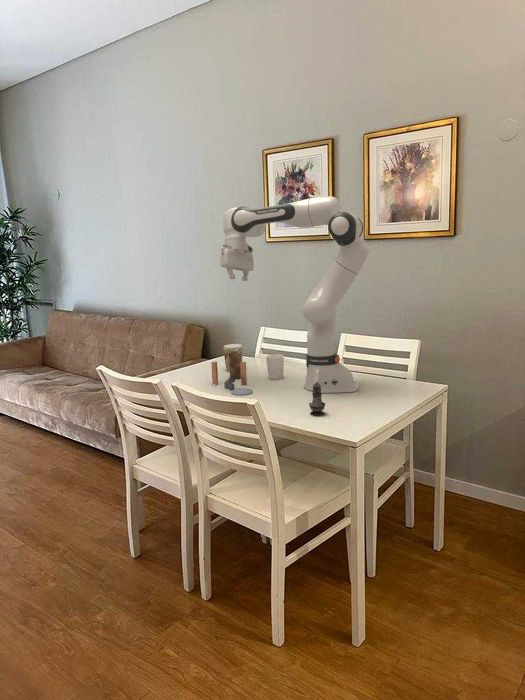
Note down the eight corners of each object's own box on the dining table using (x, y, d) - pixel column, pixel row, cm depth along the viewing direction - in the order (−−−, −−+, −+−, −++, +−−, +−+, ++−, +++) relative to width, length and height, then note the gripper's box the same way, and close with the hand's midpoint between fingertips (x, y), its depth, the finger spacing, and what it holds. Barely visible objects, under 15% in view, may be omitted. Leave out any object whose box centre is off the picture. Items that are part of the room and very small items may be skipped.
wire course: (249, 381, 232) (248, 359, 230) (241, 390, 217) (240, 367, 215) (217, 380, 235) (215, 359, 233) (206, 390, 220) (205, 367, 218)
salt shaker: (306, 414, 184) (305, 382, 182) (313, 410, 189) (313, 378, 187) (320, 417, 181) (320, 384, 179) (328, 412, 186) (328, 379, 183)
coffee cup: (225, 367, 258) (224, 344, 256) (244, 367, 258) (243, 343, 255) (223, 372, 249) (222, 348, 247) (243, 372, 249) (241, 347, 246)
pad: (255, 389, 218) (255, 388, 218) (250, 396, 209) (250, 394, 209) (234, 389, 220) (234, 387, 220) (228, 395, 211) (228, 394, 211)
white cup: (282, 380, 232) (282, 358, 230) (265, 379, 233) (264, 358, 231) (285, 375, 239) (285, 354, 237) (268, 375, 241) (268, 354, 239)
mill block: (242, 376, 240) (241, 348, 238) (240, 379, 236) (238, 350, 233) (232, 376, 241) (231, 348, 239) (230, 379, 237) (228, 350, 234)
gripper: (227, 242, 210) (230, 276, 209) (255, 249, 227) (257, 280, 227) (215, 245, 213) (218, 279, 213) (243, 251, 230) (245, 283, 230)
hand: (238, 280), depth 220 cm, fingers open, 8 cm apart
